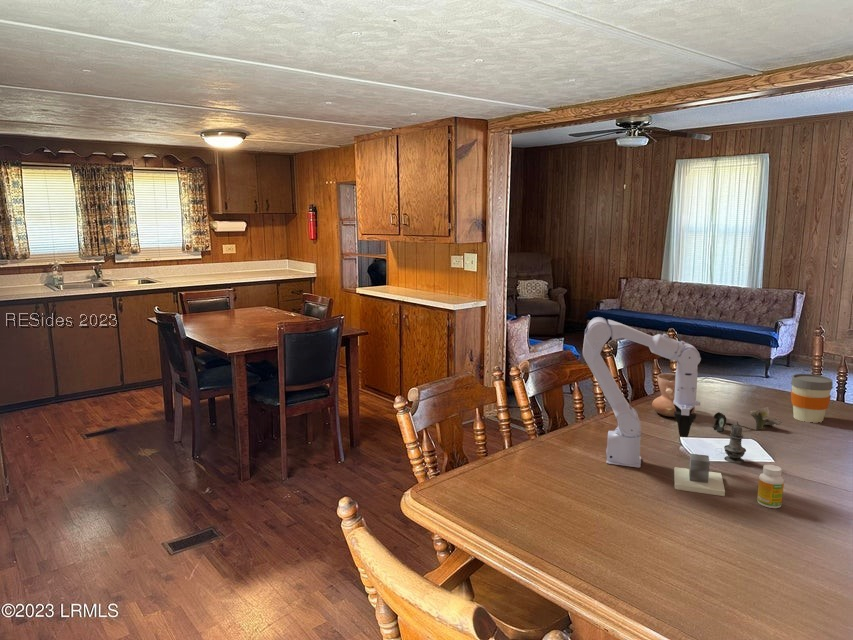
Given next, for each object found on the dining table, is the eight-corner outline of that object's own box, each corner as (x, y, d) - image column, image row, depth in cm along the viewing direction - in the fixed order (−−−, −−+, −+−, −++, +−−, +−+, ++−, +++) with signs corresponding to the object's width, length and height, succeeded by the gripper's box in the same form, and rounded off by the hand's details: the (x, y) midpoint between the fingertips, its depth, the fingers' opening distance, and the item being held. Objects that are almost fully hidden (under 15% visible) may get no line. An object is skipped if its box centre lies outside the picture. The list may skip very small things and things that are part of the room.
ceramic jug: (687, 424, 210) (690, 385, 208) (645, 416, 219) (648, 378, 216) (699, 412, 224) (702, 375, 222) (659, 404, 233) (662, 369, 231)
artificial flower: (707, 430, 208) (708, 401, 209) (769, 436, 209) (770, 407, 210) (721, 432, 199) (722, 402, 200) (786, 438, 200) (787, 408, 202)
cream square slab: (674, 491, 160) (675, 484, 160) (673, 473, 171) (674, 467, 171) (724, 498, 156) (724, 491, 156) (720, 479, 167) (721, 473, 167)
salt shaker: (747, 464, 176) (751, 425, 174) (726, 463, 177) (729, 424, 175) (741, 456, 181) (744, 418, 179) (720, 455, 182) (723, 417, 181)
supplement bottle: (772, 510, 148) (776, 473, 146) (752, 501, 153) (755, 465, 151) (786, 505, 150) (789, 469, 149) (765, 497, 155) (769, 461, 153)
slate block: (689, 480, 162) (691, 459, 161) (689, 473, 166) (690, 453, 165) (708, 483, 160) (709, 462, 159) (706, 476, 165) (708, 455, 163)
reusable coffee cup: (789, 411, 224) (793, 371, 221) (829, 417, 216) (834, 376, 214) (785, 420, 214) (789, 379, 211) (828, 427, 206) (832, 384, 204)
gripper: (702, 394, 163) (699, 442, 165) (700, 381, 176) (697, 425, 178) (674, 392, 165) (672, 439, 168) (674, 379, 179) (671, 422, 181)
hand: (683, 432), depth 173 cm, fingers open, 7 cm apart
